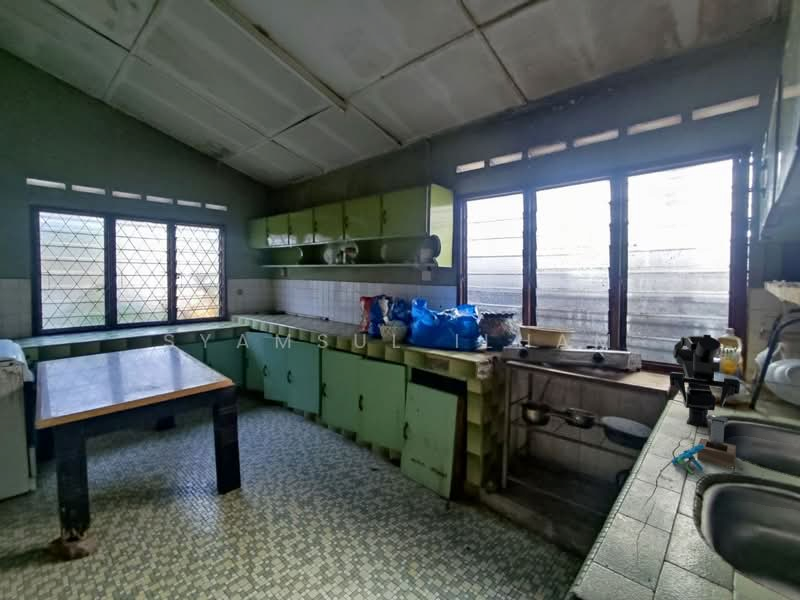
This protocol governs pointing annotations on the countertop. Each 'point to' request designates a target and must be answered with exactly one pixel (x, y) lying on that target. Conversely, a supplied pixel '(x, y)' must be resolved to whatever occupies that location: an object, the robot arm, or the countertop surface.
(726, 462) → the key holder
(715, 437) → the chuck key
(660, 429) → the countertop surface
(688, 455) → the blue lumpy figure
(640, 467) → the countertop surface
